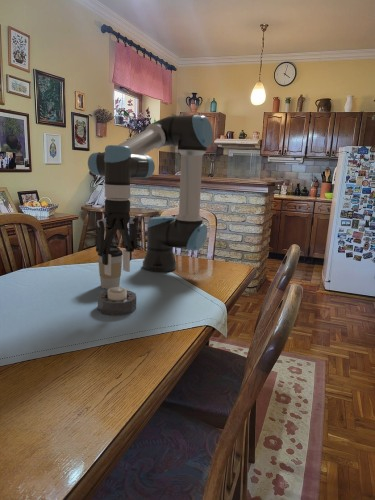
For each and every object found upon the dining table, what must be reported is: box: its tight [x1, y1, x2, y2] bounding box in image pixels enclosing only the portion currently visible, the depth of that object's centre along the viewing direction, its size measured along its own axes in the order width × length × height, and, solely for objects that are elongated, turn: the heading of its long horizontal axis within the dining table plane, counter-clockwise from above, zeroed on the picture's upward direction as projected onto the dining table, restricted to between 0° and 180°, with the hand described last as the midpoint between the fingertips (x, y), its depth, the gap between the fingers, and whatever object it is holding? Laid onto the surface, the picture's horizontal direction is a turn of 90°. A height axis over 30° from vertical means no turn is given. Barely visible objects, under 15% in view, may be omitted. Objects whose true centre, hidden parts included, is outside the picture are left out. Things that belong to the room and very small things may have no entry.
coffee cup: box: [97, 244, 123, 290], centre depth 133 cm, size 9×9×15 cm
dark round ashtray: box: [97, 289, 137, 316], centre depth 114 cm, size 12×12×4 cm
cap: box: [107, 286, 128, 300], centre depth 114 cm, size 6×6×6 cm
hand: (117, 272), depth 112 cm, fingers open, 6 cm apart
